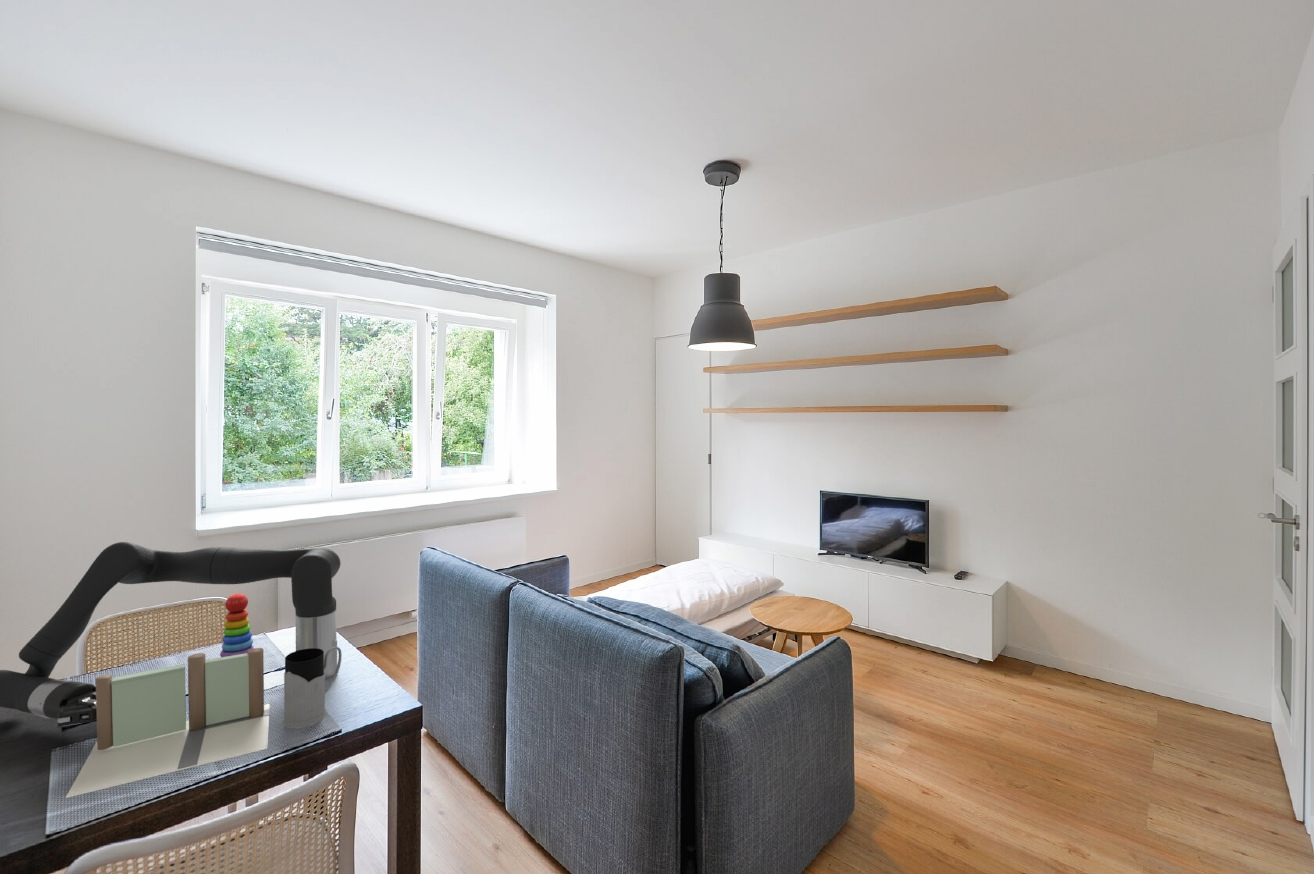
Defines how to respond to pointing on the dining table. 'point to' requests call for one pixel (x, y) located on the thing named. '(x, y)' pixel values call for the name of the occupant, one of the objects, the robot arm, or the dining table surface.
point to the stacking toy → (236, 627)
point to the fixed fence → (225, 688)
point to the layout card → (171, 753)
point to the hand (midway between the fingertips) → (126, 711)
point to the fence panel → (140, 706)
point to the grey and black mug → (306, 686)
